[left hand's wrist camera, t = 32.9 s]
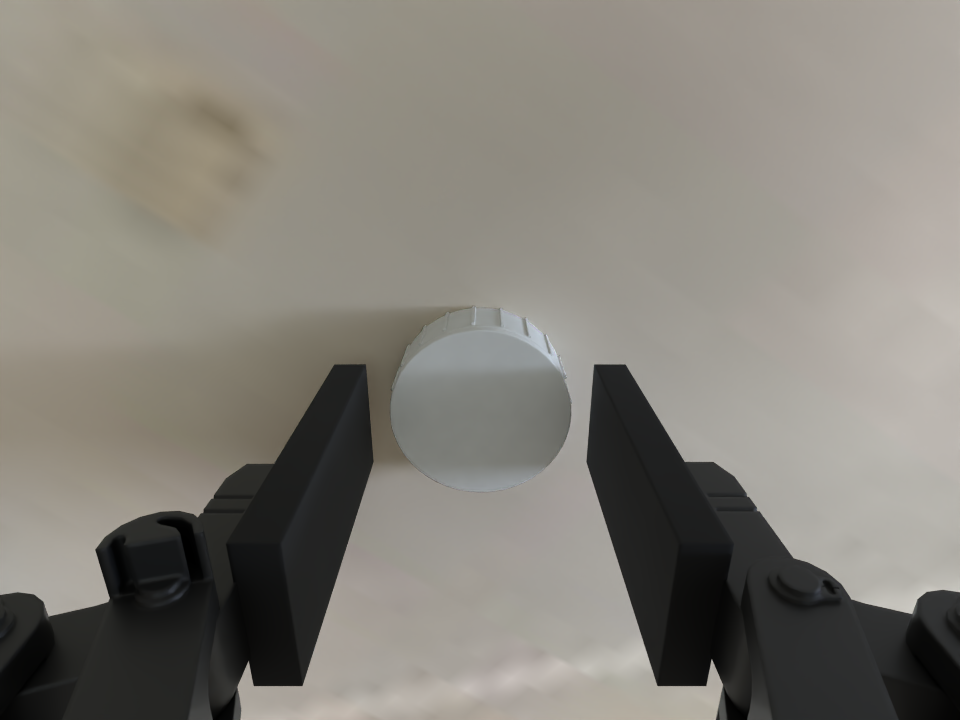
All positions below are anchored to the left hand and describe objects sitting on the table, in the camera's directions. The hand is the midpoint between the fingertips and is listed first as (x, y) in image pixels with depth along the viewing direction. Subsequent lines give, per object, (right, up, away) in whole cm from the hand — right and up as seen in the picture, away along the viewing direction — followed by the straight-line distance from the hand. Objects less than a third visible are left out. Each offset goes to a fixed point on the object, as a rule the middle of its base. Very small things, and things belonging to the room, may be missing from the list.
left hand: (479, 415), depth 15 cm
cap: (0, 0, 0) cm, 0 cm away
